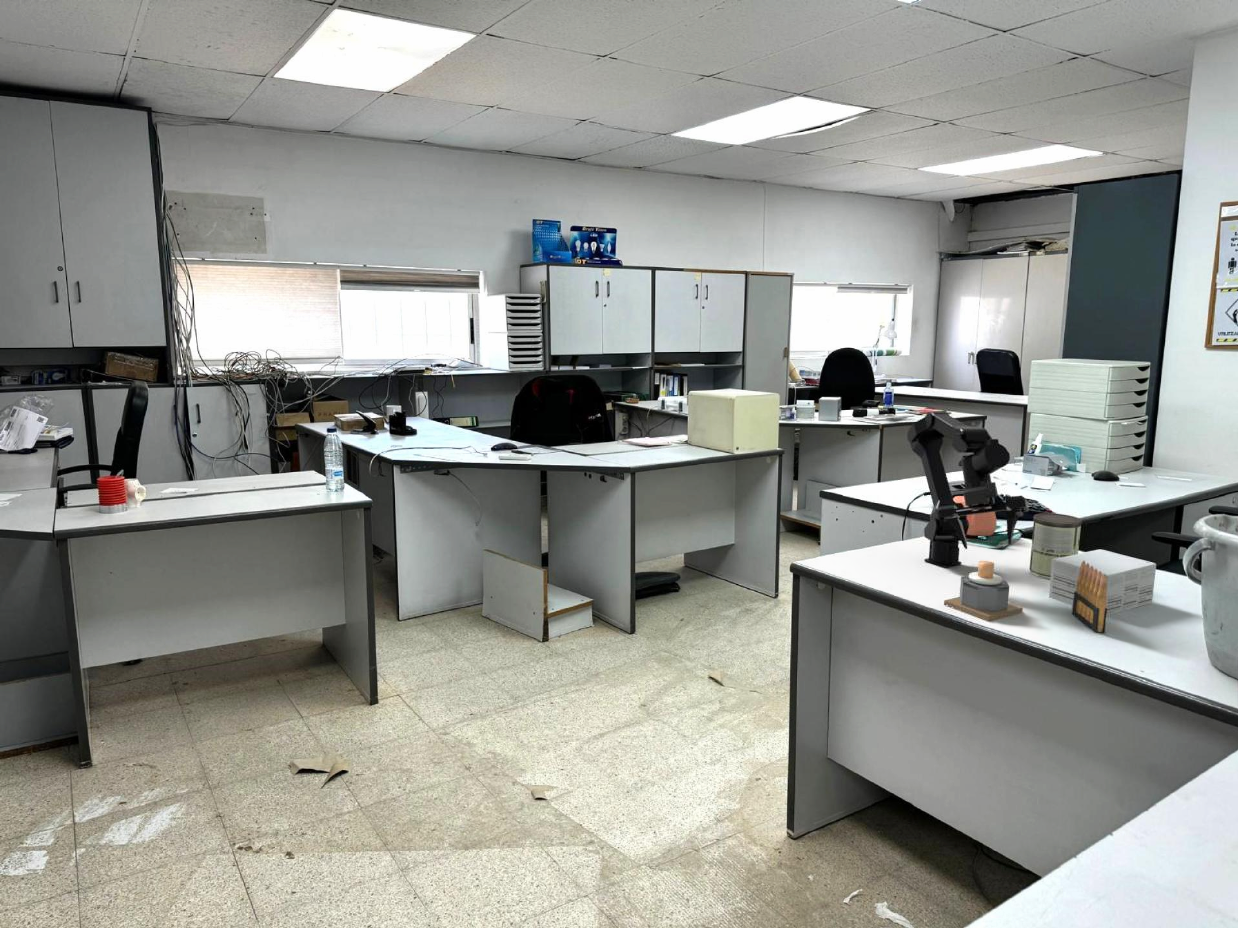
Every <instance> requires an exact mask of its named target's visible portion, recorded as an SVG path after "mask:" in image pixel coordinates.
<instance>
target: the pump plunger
mask: <svg viewBox="0 0 1238 928" xmlns="http://www.w3.org/2000/svg"><path fill="white" fill-rule="evenodd" d="M977 566H978V568H977V571H974V572H973V571H972V572H970V573H969V574H968V575H969V580H971V581H973V582H975V583H979V584H985V585H997V584H1001V582H1002V580H1003V578H1002V576H1000V575H998V574H996V573H994V570H995V563H994V562H992V561H990V560H989V561H988V560H979V561H978V565H977Z"/></svg>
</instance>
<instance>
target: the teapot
mask: <svg viewBox="0 0 1238 928" xmlns="http://www.w3.org/2000/svg"><path fill="white" fill-rule="evenodd" d="M953 500H954V501H955V502H956V503H962V504H963V506H964V507H968V506H966V504H965V499H964V495H962V496H961V495H958V496H957V495H956V496H954V497H953ZM989 508H991V507H987V508H986V509H989ZM973 511H976V510H973ZM967 519H968V522H969V528H968V531H967V535H966V536H977V535H978V536H986V537H987V536H992V535H994V533H995V532H996V530H997V516H996V512H988V513H980V514H973V515H967Z"/></svg>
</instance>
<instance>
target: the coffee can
mask: <svg viewBox="0 0 1238 928" xmlns="http://www.w3.org/2000/svg"><path fill="white" fill-rule="evenodd" d="M1082 523H1083V520H1082V519H1081V518H1080V517H1077V516H1073V515H1069V514H1065V513H1064V514H1062V513H1055V512H1054V513H1053V512H1052V513H1050V512H1046V513H1045V512H1043V513H1036V514H1034V515H1033V525H1032V526H1033V528H1032V536H1031V537H1032V538H1031V549H1030V557H1029V558H1030V560H1029V569H1028V571H1029V574H1031V575H1033V576H1035V577H1038V578H1041V579H1045V580H1050V579H1051V568H1052V559H1056V558H1061V557H1066V556H1071V555H1075V554H1079V547H1080V537H1081V530H1082V529H1081V528H1082Z"/></svg>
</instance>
